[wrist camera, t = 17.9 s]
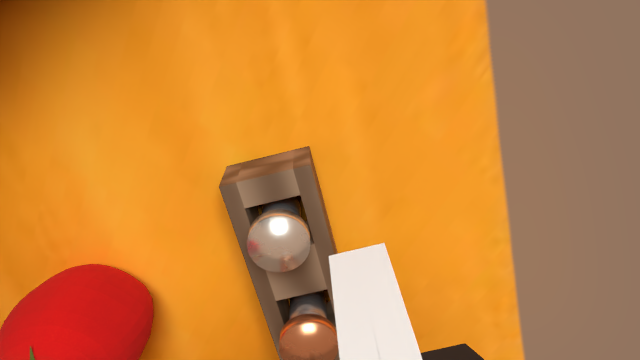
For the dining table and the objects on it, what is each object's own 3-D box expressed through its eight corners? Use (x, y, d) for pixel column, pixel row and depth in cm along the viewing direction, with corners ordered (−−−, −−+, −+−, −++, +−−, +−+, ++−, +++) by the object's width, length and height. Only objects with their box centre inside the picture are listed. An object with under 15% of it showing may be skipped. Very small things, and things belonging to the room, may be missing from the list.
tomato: (154, 237, 48) (100, 332, 35) (175, 329, 53) (133, 444, 40) (27, 247, 48) (-74, 346, 35) (58, 339, 53) (-22, 457, 39)
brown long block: (305, 397, 57) (306, 433, 52) (227, 166, 46) (219, 186, 41) (372, 383, 57) (378, 418, 52) (309, 146, 45) (310, 164, 41)
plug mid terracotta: (289, 326, 50) (288, 376, 44) (275, 285, 48) (272, 331, 42) (338, 315, 50) (344, 364, 43) (326, 273, 48) (330, 318, 41)
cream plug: (262, 238, 47) (257, 278, 41) (247, 191, 45) (238, 225, 39) (314, 226, 47) (317, 264, 41) (301, 178, 45) (301, 210, 39)
